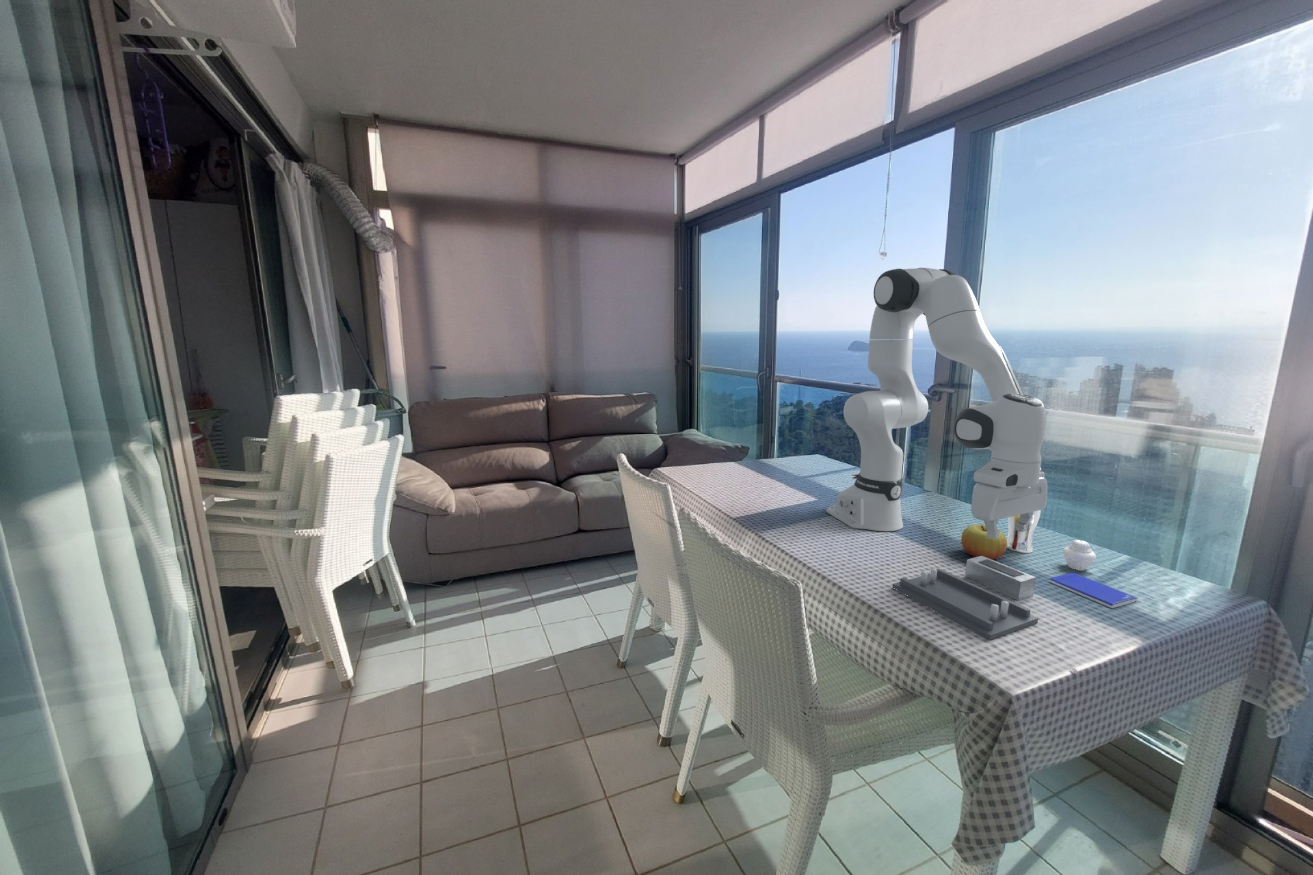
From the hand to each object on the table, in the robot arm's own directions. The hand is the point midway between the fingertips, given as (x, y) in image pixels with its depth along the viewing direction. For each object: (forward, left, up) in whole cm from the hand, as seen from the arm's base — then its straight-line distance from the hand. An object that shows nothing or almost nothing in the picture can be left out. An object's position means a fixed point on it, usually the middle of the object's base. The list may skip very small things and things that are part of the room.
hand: (1007, 534), depth 115 cm
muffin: (+1, +26, -13) cm, 29 cm away
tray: (+1, -15, -12) cm, 19 cm away
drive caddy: (-1, 0, -13) cm, 13 cm away
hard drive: (+10, +16, -13) cm, 23 cm away
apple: (-13, +12, -13) cm, 21 cm away
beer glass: (-12, +25, -13) cm, 30 cm away
